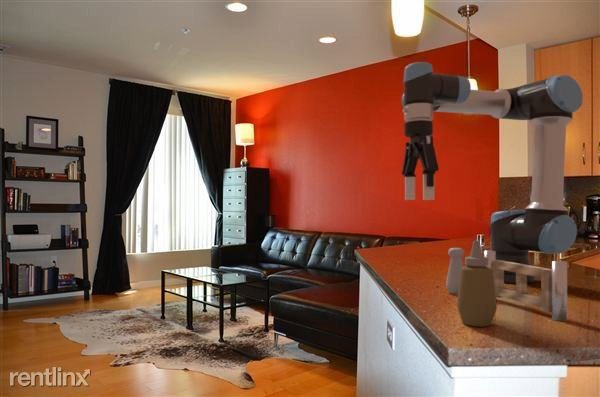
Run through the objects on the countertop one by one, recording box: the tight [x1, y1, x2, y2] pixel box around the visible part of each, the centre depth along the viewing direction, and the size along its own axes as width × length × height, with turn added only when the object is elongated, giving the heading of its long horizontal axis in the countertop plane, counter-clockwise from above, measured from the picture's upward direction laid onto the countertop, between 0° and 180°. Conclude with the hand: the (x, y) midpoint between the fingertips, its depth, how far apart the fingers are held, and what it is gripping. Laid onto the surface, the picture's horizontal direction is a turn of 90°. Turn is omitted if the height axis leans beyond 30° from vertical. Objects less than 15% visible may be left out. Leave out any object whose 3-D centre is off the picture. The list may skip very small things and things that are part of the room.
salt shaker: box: [445, 247, 465, 296], centre depth 129 cm, size 6×6×13 cm
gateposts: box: [483, 249, 568, 322], centre depth 112 cm, size 25×3×13 cm, turn 18°
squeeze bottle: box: [456, 240, 497, 328], centre depth 98 cm, size 8×8×18 cm
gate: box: [492, 260, 552, 313], centre depth 112 cm, size 18×2×10 cm, turn 18°
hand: (418, 200), depth 122 cm, fingers open, 13 cm apart
